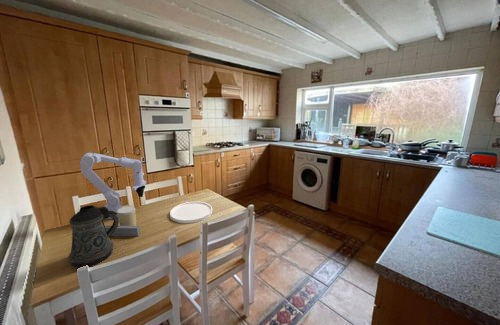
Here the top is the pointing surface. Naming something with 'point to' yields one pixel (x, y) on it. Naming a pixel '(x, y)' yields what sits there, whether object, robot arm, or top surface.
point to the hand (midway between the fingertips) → (140, 196)
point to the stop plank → (125, 230)
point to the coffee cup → (127, 216)
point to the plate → (191, 212)
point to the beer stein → (91, 236)
